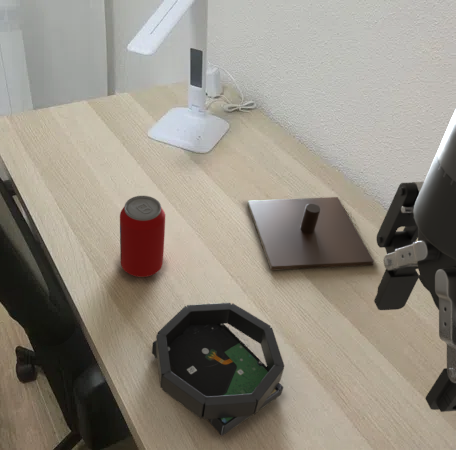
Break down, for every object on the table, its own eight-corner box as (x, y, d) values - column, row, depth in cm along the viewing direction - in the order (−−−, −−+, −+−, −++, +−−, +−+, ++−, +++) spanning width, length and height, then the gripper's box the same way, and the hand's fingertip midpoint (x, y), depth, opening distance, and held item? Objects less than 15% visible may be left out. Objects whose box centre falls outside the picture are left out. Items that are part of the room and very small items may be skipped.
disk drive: (150, 355, 75) (222, 439, 66) (150, 342, 73) (224, 427, 64) (208, 321, 80) (282, 395, 71) (209, 308, 78) (286, 382, 69)
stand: (336, 200, 102) (344, 176, 99) (372, 265, 90) (382, 240, 86) (247, 203, 101) (251, 179, 97) (270, 270, 88) (276, 244, 84)
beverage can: (144, 245, 92) (146, 187, 84) (171, 267, 88) (175, 209, 80) (112, 262, 88) (110, 203, 80) (138, 287, 84) (138, 228, 76)
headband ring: (260, 314, 77) (263, 300, 75) (290, 413, 66) (295, 399, 64) (152, 320, 76) (153, 306, 74) (164, 422, 65) (165, 408, 63)
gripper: (690, 255, 24) (519, 440, 35) (503, 99, 35) (416, 277, 45) (530, 263, 23) (406, 450, 34) (390, 101, 34) (328, 282, 45)
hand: (412, 351), depth 40 cm, fingers open, 8 cm apart
